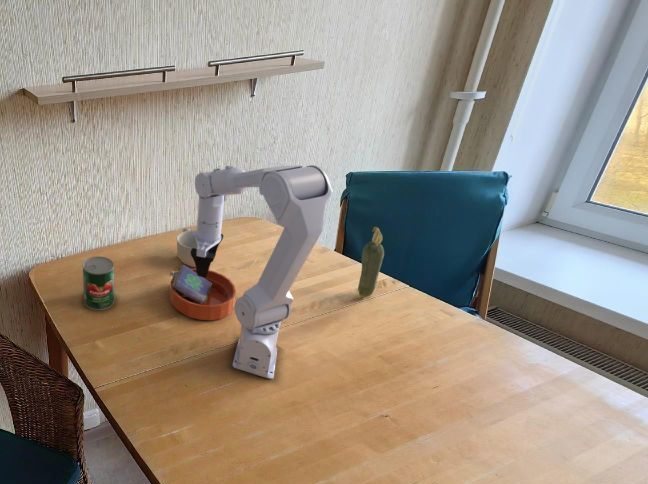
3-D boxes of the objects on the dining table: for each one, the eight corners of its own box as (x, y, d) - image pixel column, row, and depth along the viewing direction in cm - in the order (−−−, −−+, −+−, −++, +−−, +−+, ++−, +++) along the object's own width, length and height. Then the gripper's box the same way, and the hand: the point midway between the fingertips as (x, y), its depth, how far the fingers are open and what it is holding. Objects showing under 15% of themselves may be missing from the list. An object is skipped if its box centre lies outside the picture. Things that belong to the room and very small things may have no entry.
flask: (206, 302, 104) (168, 278, 106) (201, 309, 106) (163, 285, 108) (213, 280, 112) (177, 258, 114) (208, 287, 114) (172, 266, 116)
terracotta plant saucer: (227, 329, 100) (229, 313, 98) (161, 310, 106) (162, 295, 105) (238, 291, 113) (240, 277, 111) (179, 277, 120) (180, 263, 118)
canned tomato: (103, 288, 116) (102, 253, 112) (120, 303, 109) (120, 266, 105) (78, 298, 112) (76, 262, 108) (94, 314, 105) (93, 277, 101)
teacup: (216, 271, 122) (218, 247, 119) (178, 272, 122) (180, 247, 119) (205, 246, 135) (207, 224, 132) (171, 247, 135) (172, 224, 132)
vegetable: (374, 304, 107) (393, 234, 99) (355, 302, 107) (372, 232, 100) (368, 294, 111) (385, 225, 103) (349, 292, 111) (365, 224, 104)
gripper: (200, 204, 109) (196, 250, 114) (184, 229, 97) (181, 279, 102) (228, 209, 106) (223, 256, 111) (216, 235, 94) (211, 286, 99)
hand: (205, 268), depth 106 cm, fingers open, 7 cm apart
